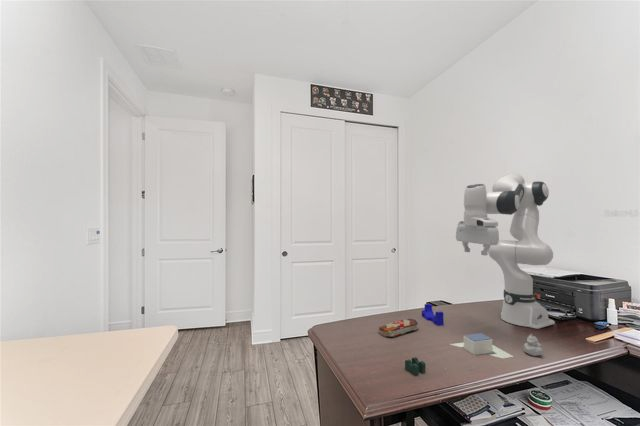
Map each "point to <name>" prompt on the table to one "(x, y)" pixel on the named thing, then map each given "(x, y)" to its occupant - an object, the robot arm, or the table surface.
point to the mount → (415, 366)
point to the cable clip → (432, 315)
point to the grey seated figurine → (533, 346)
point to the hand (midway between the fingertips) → (475, 253)
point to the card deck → (478, 344)
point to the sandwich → (398, 328)
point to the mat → (496, 352)
